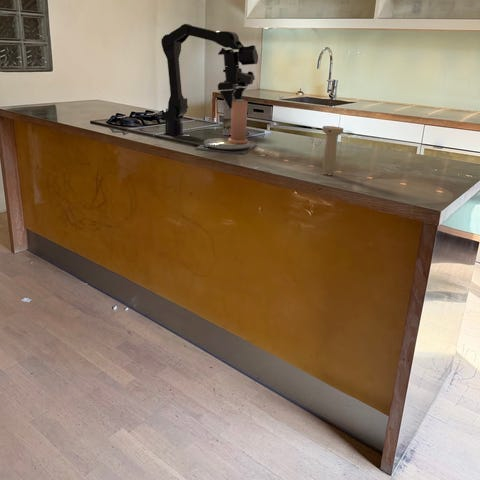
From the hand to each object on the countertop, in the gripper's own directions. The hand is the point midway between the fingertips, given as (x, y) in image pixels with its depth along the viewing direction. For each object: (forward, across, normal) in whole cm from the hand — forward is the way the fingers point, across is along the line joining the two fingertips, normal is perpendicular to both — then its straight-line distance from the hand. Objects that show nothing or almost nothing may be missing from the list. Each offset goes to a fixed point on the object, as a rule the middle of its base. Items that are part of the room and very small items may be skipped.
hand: (235, 107), depth 195 cm
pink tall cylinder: (+12, -10, -4) cm, 16 cm away
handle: (+20, -35, -43) cm, 59 cm away
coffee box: (+13, +15, +9) cm, 22 cm away
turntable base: (+14, -13, 0) cm, 19 cm away
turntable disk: (+14, -13, 0) cm, 19 cm away
